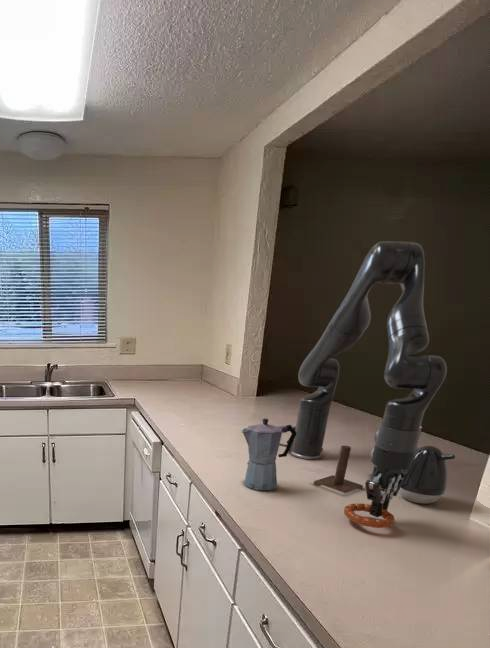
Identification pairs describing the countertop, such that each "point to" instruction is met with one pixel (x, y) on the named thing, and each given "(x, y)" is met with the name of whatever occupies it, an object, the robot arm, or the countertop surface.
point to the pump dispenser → (426, 476)
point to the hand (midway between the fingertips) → (377, 514)
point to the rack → (340, 475)
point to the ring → (373, 523)
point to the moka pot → (264, 453)
